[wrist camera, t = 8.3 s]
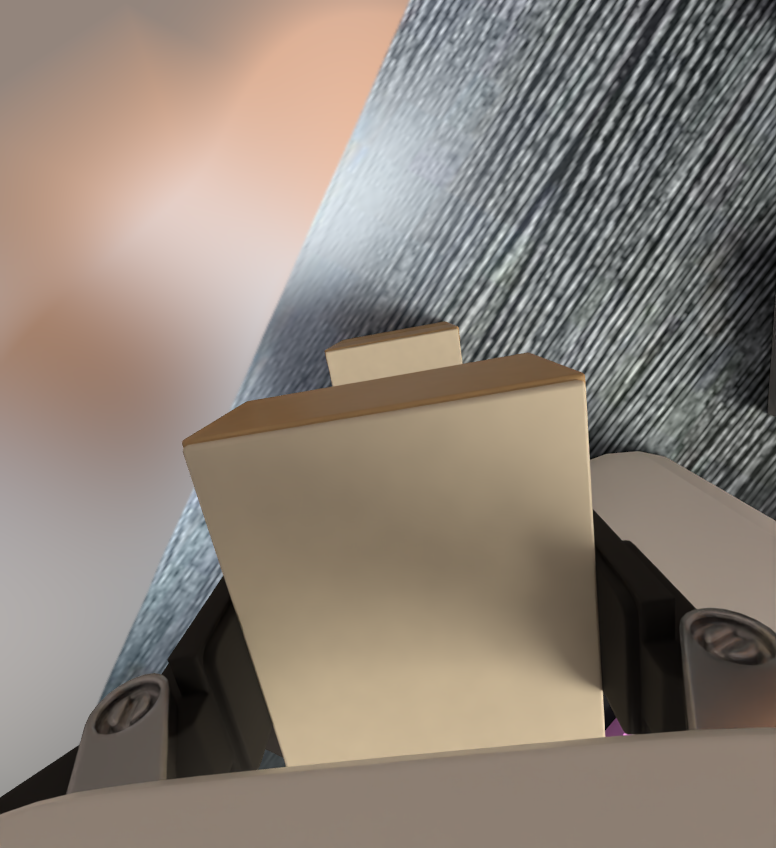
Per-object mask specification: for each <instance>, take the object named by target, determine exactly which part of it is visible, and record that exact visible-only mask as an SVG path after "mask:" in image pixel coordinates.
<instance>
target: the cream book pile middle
mask: <svg viewBox="0 0 776 848" xmlns="http://www.w3.org/2000/svg"><path fill="white" fill-rule="evenodd" d="M325 356H326V360H327V364H328V368H329V372H330V377H331V382H332V386H339V385H344V384H350V383H356V382H362V381H368V380H373V379H379V378H385V377H391V376H396V375H402V374H408V373H414V372H419V371H425V370H431V369H437V368H442V367H448V366H454V365H460V364H462V356H461V349H460V336H459V329H458V326H455V325H453V324H446V325H440V326H435V327H429V328H424V329H418V330H413V331H407V332H401V333H396V334H390V335H385V336H379V337H374V338H368V339H363V340H357V341H352V342H346V343H340V344H335V345H333V346H331V347H330V348H328V349H326V350H325Z"/></svg>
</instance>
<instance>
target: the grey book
mask: <svg viewBox="0 0 776 848" xmlns="http://www.w3.org/2000/svg"><path fill="white" fill-rule="evenodd" d="M767 414H769V415H772V416H775V417H776V291H775V306H774V321H773V336H772V351H771V366H770V381H769V396H768V411H767Z"/></svg>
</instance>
